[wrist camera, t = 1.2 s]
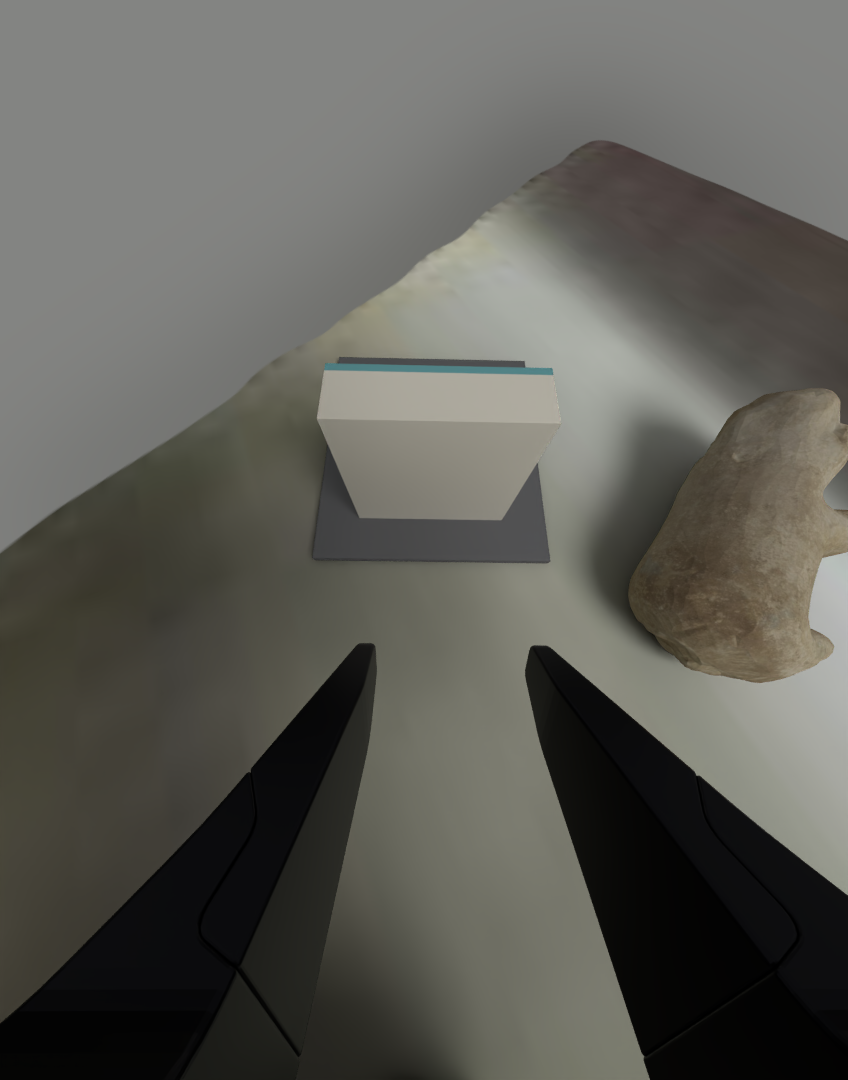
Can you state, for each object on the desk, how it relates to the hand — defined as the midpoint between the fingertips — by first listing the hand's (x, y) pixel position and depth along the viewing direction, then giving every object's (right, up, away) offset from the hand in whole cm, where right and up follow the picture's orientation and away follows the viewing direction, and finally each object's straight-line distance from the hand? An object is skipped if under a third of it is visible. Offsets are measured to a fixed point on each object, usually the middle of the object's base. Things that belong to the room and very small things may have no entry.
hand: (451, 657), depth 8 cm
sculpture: (+19, +2, +15) cm, 24 cm away
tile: (0, +6, +15) cm, 16 cm away
